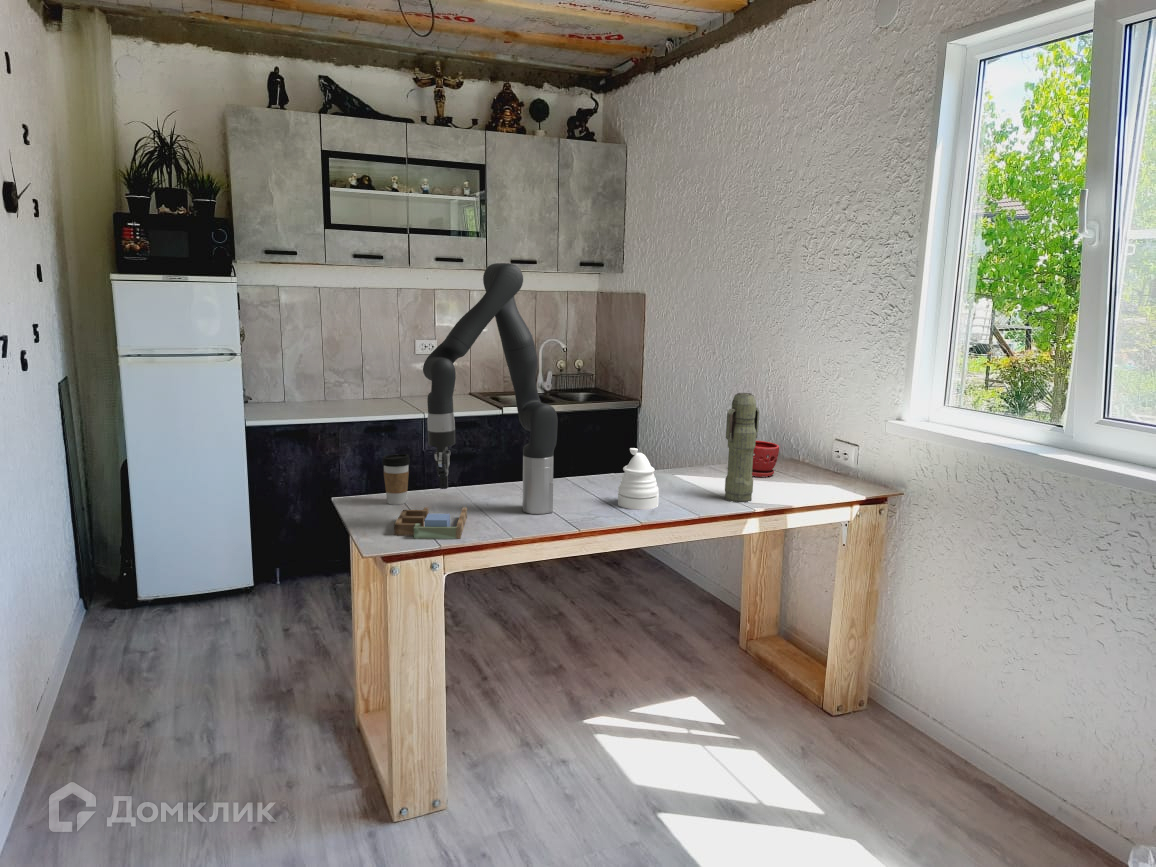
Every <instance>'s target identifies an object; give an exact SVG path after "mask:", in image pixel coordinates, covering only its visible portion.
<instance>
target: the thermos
mask: <svg viewBox="0 0 1156 867" xmlns="http://www.w3.org/2000/svg"><path fill="white" fill-rule="evenodd" d="M755 398H756V397H755V395H754V394H752V393H749V392H737V393H735V394H734V396H733V399H732V401H731V408H729V409H728V411H727V413H726V425H725V426H726V427H725V428H726V429H725V438H726V440H727V447H728V460H727V474H726V476H725V479H724V480H725V481H724V482H725V483H724V492H725V495H724V499H725V501H728V500H729V501H728V502H731V501H733V502H732V503H739V502H744V503H749V502H748V501H750V502H751V501H752V497H753V496H752V494H753V493H754V488H753V487H754V479H753V476H752V466H753V456H754V454H753V451H754V448H755V443H756V441H757V439H758V437H759V436H758V434H759V423H760V422H759V421H760V410H759V408H758V407H757V402H756V399H755Z"/></svg>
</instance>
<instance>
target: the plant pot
mask: <svg viewBox="0 0 1156 867" xmlns="http://www.w3.org/2000/svg"><path fill="white" fill-rule="evenodd" d="M779 453H780V445H778V443H774V442H769V441H764V440H756V443H755V448H754V451H753V466H752V477H754V476H755V478H767V477H768V476H769V477H772V476H773V475H774V473H775V470H774V469H775V466H776V464H777V462H778V458H779ZM769 477H768V478H769Z"/></svg>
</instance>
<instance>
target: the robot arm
mask: <svg viewBox="0 0 1156 867" xmlns="http://www.w3.org/2000/svg"><path fill="white" fill-rule="evenodd" d="M482 277H483V278H482V281H483V287H484V290H485V293H484V294H483V296H482V297H481V298H480V299H479V301H477V302H476V304H475V305H473V307H471V308H470V309H469V310H468V311H467V312H466V313H465V314H464V315H462V316H461V318H460V319H459V320H458V321H457V322H456V323H455V325H454V326H453V327H452V329H451V330H450V332H449V333H448V334H447V335H446V338H445V339H444V340H443V341H442V342H441V343H440V344H439V345H437V347H436V348H435V349H434V350H432V352H431V353H430V354H429V355H428V356H427V357H426V359H425V361H424V363H423V365H422V373H423V375H424V377H425V378H426V379H428V380H429V381H430V382H431V390H430V392H429V393H428V395H427V398H426V399H427V400H426V401H427V402H426V403H427V441H428V442H427V443H428V446H429V447H433V448H436V450H435V452H434V460H435V462H434V464H435V467H436V475H437V476H438V479H439V480H438V481H439V482H438V483H439V489H440V490H447V489H448V488H449V481H448V480H449V479H448V477H449V476H448V475H449V473H450V472H449V471H450V468H449V467H450V456H451V450H450V449H449V448H448V447H452V446H455V445H456V422H455V413H454V391H455V385H456V377H457V375H456V368H455V365H454V364H455V362H456V361H457V360H458V359H460V358H463V357H464V356H465V355H467V353H468V352H469V351H470V349H471V348H472V346H473V345H474V343H475V342H476V341H477V339H478V338H479V337H480V335H481V334H482V332H484V330H485V329H486V327H487V326H488V325H489V324H490V323H491V321H492V320H493V318H495V322H496V326H497V330H498V333H499V337H500V341H501V346H502V350H503V354H504V359H505V361H506V364H507V367H508V373H509V375H510V380H511V383H512V386H513V391H514V396H515V402H516V409H517V415H518V420H519V423H520V425H521V426H522V427H523V429H525V430H526V431H528V432H529V440H528V441H529V442H527V443H526V444H525V445H524V446H522V505H521V506H522V511H523V512H524V513H527V514H532V515H537V514H538V515H544V514H548V513H553V512H554V451H555V449H556V446H557V440H558V426H559V425H558V424H559V423H558V422H559V421H558V420H559V418H558V414H557V411H556V409H555V408H554V407H553V406H552V405H550V404H548V403H544V402H542V400H541V398H540V395H539V393H538V389H537V388H538V387H537V384H536V382H537V380H536V377H537V372H538V371H537V369H538V354H537V350H536V345H535V341H534V338H533V335H532V333H531V331H530V329H529V327H528V325H527V323H526V322H525V320H524V319H523V317H522V316H521V313H520V312H519V310H518V307H517V304H516V299H515V296H516V294H518V293H519V291H521V288H522V287H523V283H524V274H523V272H522V270H521V268H520V267H518V266H517V265H516V264H514V263H508V262H506V263H505V262H500V263H499V262H497V263H491V264H490V265H489V264H488V266H487V267H486V269H485V270H484V273H483V276H482Z"/></svg>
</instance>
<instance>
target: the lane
mask: <svg viewBox="0 0 1156 867" xmlns="http://www.w3.org/2000/svg"><path fill="white" fill-rule="evenodd" d="M428 514H430V513H429V507H427V506H426V507H423V508H422V509H403V510H402V511H401V512H400V514H399V515H398V517H397V519H396V521H395V523H394V525H393V535H394V536H413V539H420V540H421V539H423V540H424V539H426V540H427V539H428V540H431V539H432V540H435V539H436V540H437V539H438V540H440V539H441V540H442V539H443V540H447V539H448V540H452V539H453V540H461V538H462V535H463V532H464V529H465V525H466V522H467V518H468V507H462V509H461V511H460V515H459V517H458V521H457V523H456V526H450V527H425V518H426V517H427V515H428Z"/></svg>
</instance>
